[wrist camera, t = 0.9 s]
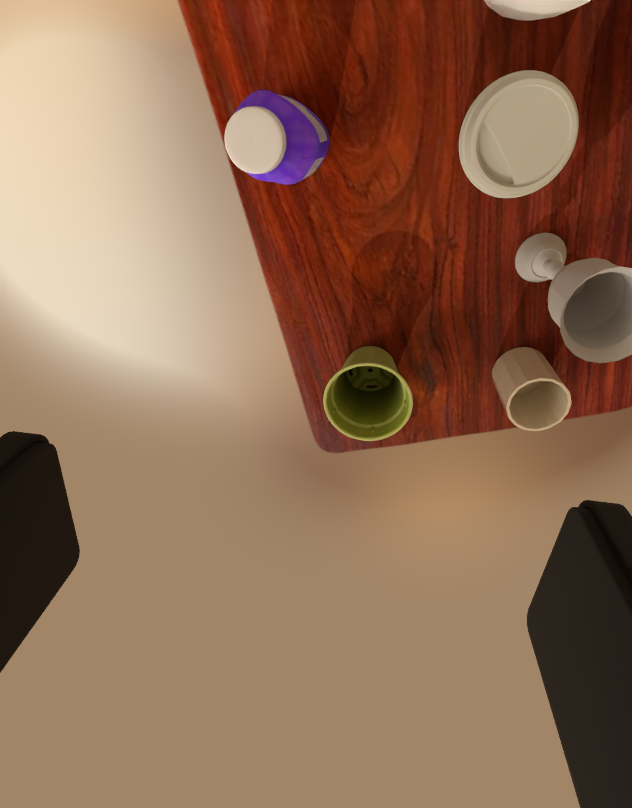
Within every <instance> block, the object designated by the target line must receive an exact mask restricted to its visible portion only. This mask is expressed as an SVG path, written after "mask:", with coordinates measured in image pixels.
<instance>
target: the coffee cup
mask: <svg viewBox="0 0 632 808" xmlns="http://www.w3.org/2000/svg"><path fill="white" fill-rule="evenodd" d="M578 127H579V118H578V110H577V106H576V103H575V100H574V98H573V96H572V94H571V92H570V91H569V90H568V88H567V87H566V86H565V85H564V84H563V83H562V82H561V81H560V80H558V79H557V78H555V77H553V76H552V75H550V74H547V73H545V72H541V71H535V70H524V71H517V72H513V73H510V74H508V75H505V76H503V77H501V78H499V79H498V80H496V81H494V82H493V83H492V84H490V85H489V86H488V87H487V88H485V89H484V90H483V91H482V92H481V93H480V94H479V96H478V97H477V98H476V99H475V101H474V102H473V104H472V105H471V107H470V108H469V110H468V112H467V114H466V116H465V119H464V121H463V124H462V127H461V131H460V137H459V155H460V161H461V164H462V167H463V170H464V172H465V174H466V176H467V177H468V179H469V180H470V181H471V183H472V184H473V185H474V186H475V187H477V188H478V189H479V190H481V191H482V192H484V193H486V194H488V195H491V196H494V197H499V198H515V197H520V196H524V195H527V194H530V193H533V192H535V191H537V190H539V189H540V188H542V187H544V186H545V185H546V184H548V183H549V182H550V181H551V180H552V179H553V178H555V177H556V176H557V174H558V173H559V172H560V171H561V170H562V168H563V167H564V166H565V164H566V163H567V161H568V159H569V158H570V156H571V154H572V151H573V149H574V146H575V143H576V140H577V135H578Z"/></svg>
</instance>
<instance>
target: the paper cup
mask: <svg viewBox="0 0 632 808" xmlns="http://www.w3.org/2000/svg"><path fill="white" fill-rule="evenodd" d="M492 379H493V382H494V385H495V388H496V390H497V392H498V395H499V397H500V399H501V401H502V404H503V406H504V408H505V411H506V413H507V415H508V418H509V419H510V420H511V421H512V422H513V424H514V425H515V426H517V427H520V428H522V429H524V430H530V431H540V430H544V429H549V428H551V427H553V426H554V425H556V424H558V423H559V422H561V421H562V419H563V418H564V417H565V416H566V415H567V414H568V412H569V409H570V406H571V396H570V392H569V390H568V389H567V388H566V386H565V385H564V383H563V382H562V380H561V379H560V378H559V376H558V375H557V373H556V372H555V370H554V369H553V368H552V366H551V365H550V363H549V362H548V360H547V359H546V358H545V356H544V355H543V354H542V353H541V352H539V351H538V350H536V349H533V348H529V347H519V348H514V349H511V350H509V351H507V352H506V353H504V354H503V355H502V356H500V357H499V359H498V360H497V361H496V363H495V365H494V367H493V370H492Z"/></svg>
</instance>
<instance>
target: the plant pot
mask: <svg viewBox="0 0 632 808" xmlns="http://www.w3.org/2000/svg"><path fill="white" fill-rule="evenodd" d="M349 369H352V373H353V376H351V375H350V373H349ZM368 369H372V372H368ZM388 371H389V372H390V373H389V372H388ZM368 385H370V386H375V385H378V386H377V387H375V388H368V387H367V386H368ZM323 402H324V409H325V412H326V415H327V417H328V419H329V420H330V422H331V423H332V424H333V425H334V427H335V428H337V429H338V430H339V431H340V432H341V433H343V434H345V435H347V436H349V437H351V438H354V439H358V440H364V441H374V440H380V439H384V438H386V437H389V436H391V435H393V434H395V433H396V432H397V431H399V430H400V429H401V428H402V427H403V426H404V425H405V424H406V422H407V421H408V419H409V417H410V415H411V411H412V406H413V400H412V394H411V391H410V388H409V386H408V384H407V383H406V381H405V380H404V378H403V377H402V376H401V375H400V374H399V373H398V371H397V368H396V365H395V362H394V360H393V358H392V356H391V355H390V354H389V353H387V352H386V351H385V350H383V349H382V348H379V347H376V346H364V347H361V348H358V349H356V350H355V351H354V352H352V353H351V354H350V355H349V357H348V358H347V360H346V362H345V364H344V366H343V368H342V369H341V370H340V371H338V372H337V373H336V374H335V375H334V376H333V377H332V378H331V379H330V381H329V382H328V384H327V386H326V389H325V392H324V398H323Z"/></svg>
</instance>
